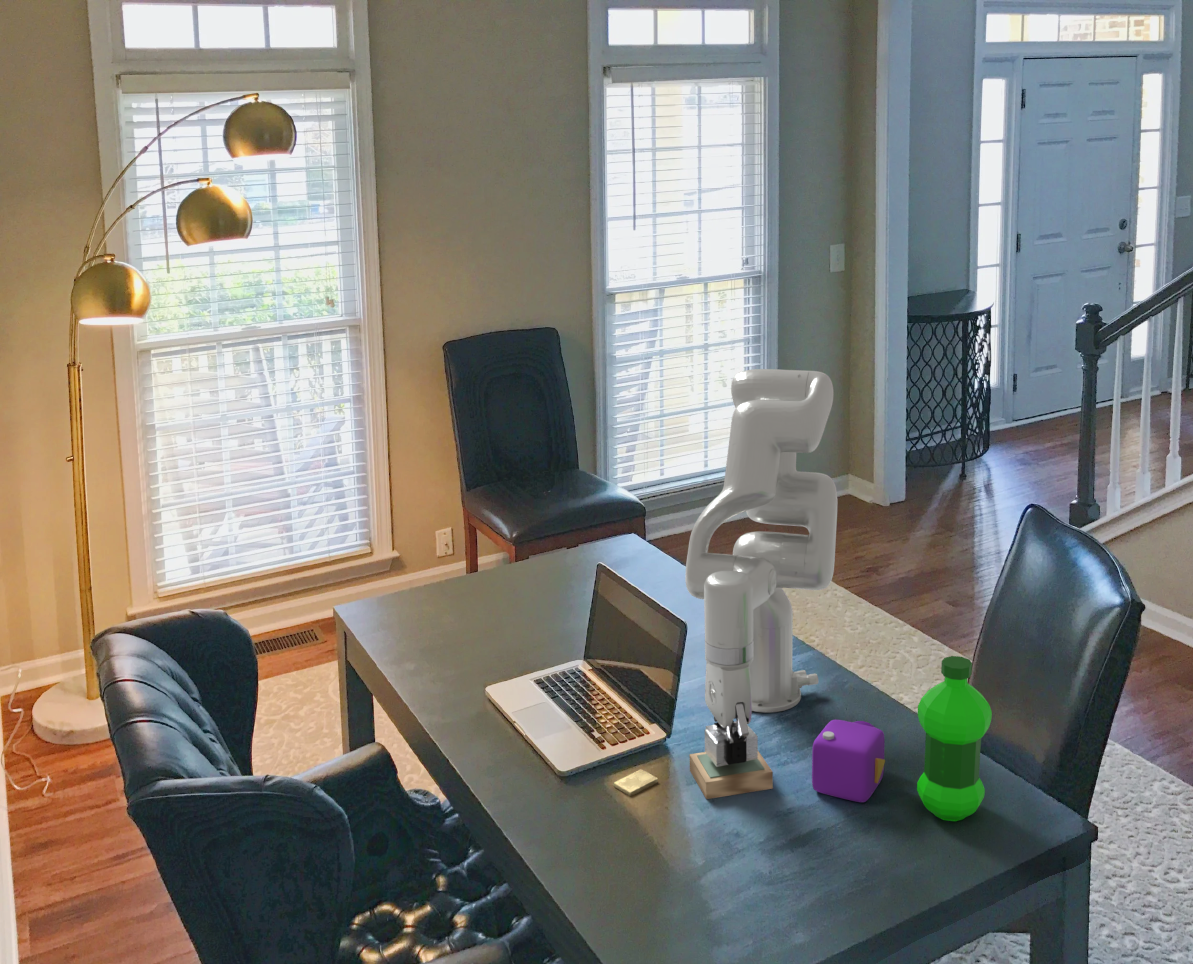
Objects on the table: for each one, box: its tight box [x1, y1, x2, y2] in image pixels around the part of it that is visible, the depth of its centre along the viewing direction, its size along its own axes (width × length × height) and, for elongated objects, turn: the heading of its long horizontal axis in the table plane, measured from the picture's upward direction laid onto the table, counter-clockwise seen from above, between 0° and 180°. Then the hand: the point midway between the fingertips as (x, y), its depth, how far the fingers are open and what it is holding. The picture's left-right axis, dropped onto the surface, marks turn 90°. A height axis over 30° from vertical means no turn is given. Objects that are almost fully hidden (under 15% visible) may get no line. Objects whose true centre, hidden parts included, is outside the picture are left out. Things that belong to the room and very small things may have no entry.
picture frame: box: [689, 750, 774, 800], centre depth 205 cm, size 11×9×3 cm
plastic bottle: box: [916, 655, 993, 822], centre depth 190 cm, size 10×10×25 cm
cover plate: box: [613, 768, 659, 797], centre depth 205 cm, size 6×4×1 cm, turn 130°
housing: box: [704, 724, 759, 767], centre depth 203 cm, size 7×5×5 cm
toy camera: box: [811, 719, 886, 803], centre depth 202 cm, size 11×14×10 cm
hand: (730, 752), depth 204 cm, fingers closed on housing, 5 cm apart
